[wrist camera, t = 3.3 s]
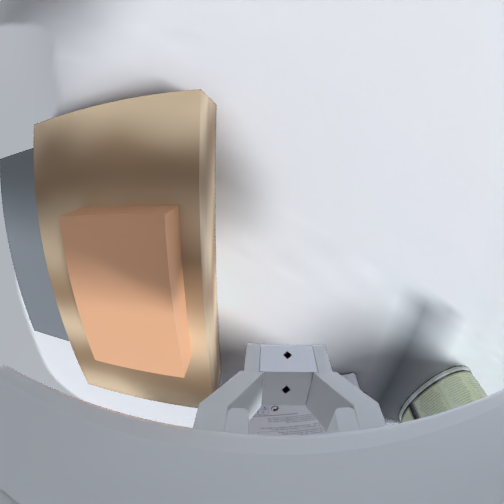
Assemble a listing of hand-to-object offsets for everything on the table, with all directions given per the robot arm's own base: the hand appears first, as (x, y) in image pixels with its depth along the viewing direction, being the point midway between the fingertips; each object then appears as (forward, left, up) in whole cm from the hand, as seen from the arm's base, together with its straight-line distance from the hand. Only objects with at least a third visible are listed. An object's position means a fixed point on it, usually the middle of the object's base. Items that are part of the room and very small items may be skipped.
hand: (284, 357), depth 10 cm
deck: (0, -10, -8) cm, 13 cm away
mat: (0, -20, -8) cm, 22 cm away
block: (0, -8, -4) cm, 9 cm away
